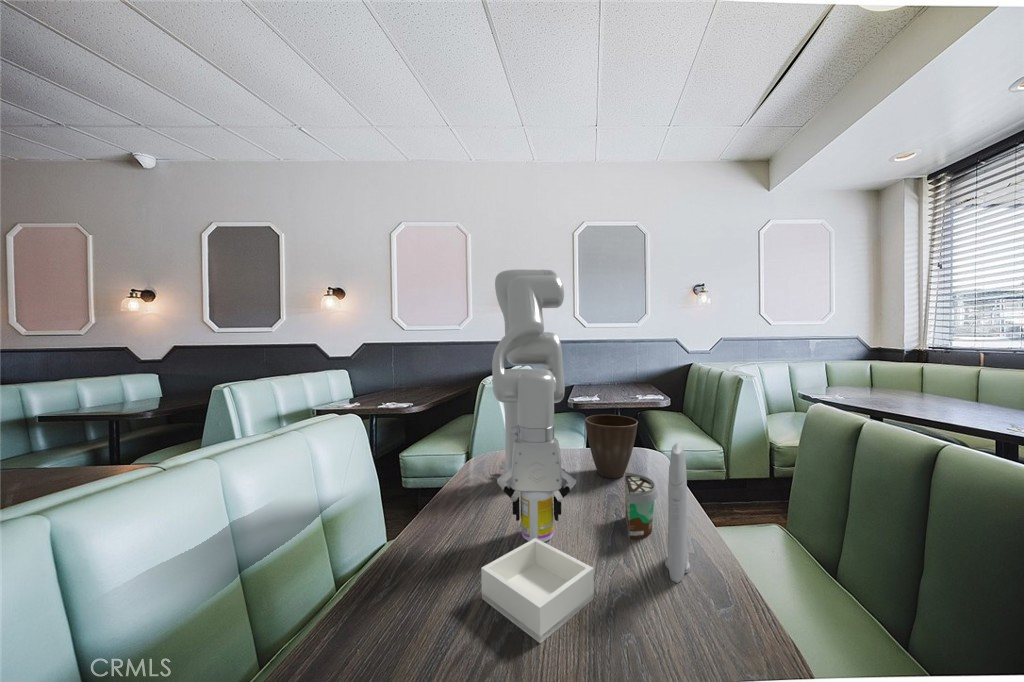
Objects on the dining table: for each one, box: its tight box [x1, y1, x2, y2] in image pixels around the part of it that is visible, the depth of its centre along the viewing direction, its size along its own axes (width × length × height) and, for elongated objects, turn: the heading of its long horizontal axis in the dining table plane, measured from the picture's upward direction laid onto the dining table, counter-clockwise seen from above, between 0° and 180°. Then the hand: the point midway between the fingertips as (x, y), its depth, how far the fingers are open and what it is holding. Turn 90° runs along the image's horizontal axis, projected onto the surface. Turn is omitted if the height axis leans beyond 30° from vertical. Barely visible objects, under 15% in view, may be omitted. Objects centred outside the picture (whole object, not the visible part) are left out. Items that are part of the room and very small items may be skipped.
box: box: [480, 538, 595, 644], centre depth 62 cm, size 13×13×5 cm
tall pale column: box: [664, 442, 691, 584], centre depth 70 cm, size 11×4×22 cm, turn 153°
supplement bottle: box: [520, 492, 554, 543], centre depth 81 cm, size 7×7×13 cm
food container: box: [624, 471, 659, 540], centre depth 83 cm, size 12×6×10 cm, turn 168°
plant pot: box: [585, 414, 639, 479], centre depth 115 cm, size 15×15×16 cm
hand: (536, 517), depth 81 cm, fingers open, 7 cm apart
